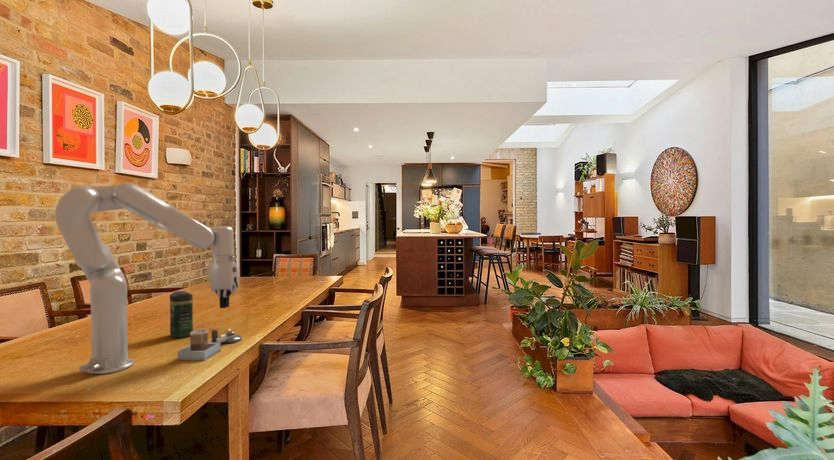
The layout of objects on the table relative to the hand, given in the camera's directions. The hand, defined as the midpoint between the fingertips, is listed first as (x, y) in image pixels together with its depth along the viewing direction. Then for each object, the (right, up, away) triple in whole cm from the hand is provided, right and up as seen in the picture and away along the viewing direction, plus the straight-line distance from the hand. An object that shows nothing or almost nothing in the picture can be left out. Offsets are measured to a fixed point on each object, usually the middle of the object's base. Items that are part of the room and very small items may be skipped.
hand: (224, 307), depth 157 cm
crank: (-3, -14, +6) cm, 15 cm away
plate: (-6, -15, +15) cm, 22 cm away
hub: (-2, -15, +10) cm, 18 cm away
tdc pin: (-6, -15, +15) cm, 22 cm away
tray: (-5, -16, -8) cm, 19 cm away
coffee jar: (-26, -15, +17) cm, 34 cm away
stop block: (-5, -15, -8) cm, 18 cm away
